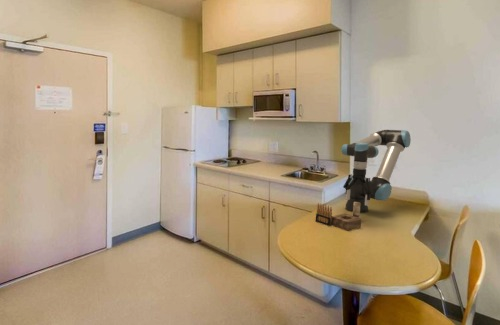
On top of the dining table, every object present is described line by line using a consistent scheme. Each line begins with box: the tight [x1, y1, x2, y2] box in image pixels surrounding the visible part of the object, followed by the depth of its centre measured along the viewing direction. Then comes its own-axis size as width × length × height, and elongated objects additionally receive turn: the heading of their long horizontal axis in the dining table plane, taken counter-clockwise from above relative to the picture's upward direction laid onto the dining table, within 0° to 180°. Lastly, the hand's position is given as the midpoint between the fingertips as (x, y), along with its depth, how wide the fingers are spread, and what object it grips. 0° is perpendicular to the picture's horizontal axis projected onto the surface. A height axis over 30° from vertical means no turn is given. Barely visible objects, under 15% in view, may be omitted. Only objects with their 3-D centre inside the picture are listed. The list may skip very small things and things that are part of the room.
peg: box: [352, 202, 361, 219], centre depth 176 cm, size 4×4×12 cm
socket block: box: [332, 213, 362, 232], centre depth 169 cm, size 12×12×5 cm
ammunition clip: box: [315, 202, 333, 227], centre depth 171 cm, size 11×2×12 cm, turn 41°
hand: (356, 202), depth 175 cm, fingers open, 13 cm apart
